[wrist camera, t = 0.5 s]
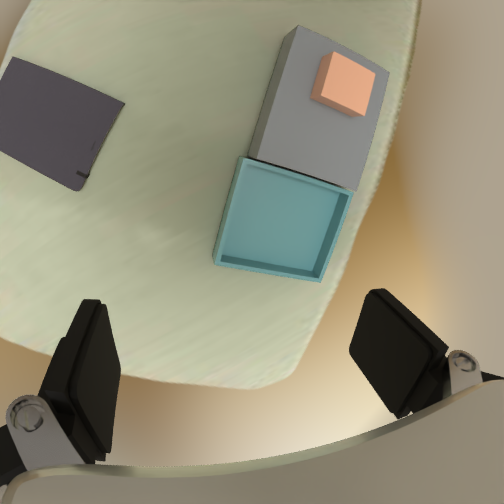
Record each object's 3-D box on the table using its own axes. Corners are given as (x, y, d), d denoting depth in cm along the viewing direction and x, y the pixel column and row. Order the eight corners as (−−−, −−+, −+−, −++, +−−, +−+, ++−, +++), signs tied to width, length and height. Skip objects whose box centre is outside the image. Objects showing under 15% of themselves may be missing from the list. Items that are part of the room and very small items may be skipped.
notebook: (126, 104, 30) (17, 58, 22) (123, 103, 29) (12, 56, 21) (83, 191, 33) (-18, 137, 25) (79, 193, 32) (-23, 137, 24)
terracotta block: (322, 56, 28) (333, 51, 25) (362, 76, 30) (375, 73, 27) (309, 98, 30) (320, 95, 27) (351, 116, 32) (364, 116, 29)
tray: (239, 156, 36) (243, 157, 33) (343, 188, 41) (353, 192, 38) (212, 255, 40) (214, 264, 37) (312, 273, 45) (320, 282, 42)
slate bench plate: (284, 36, 30) (298, 25, 26) (369, 76, 35) (389, 72, 30) (247, 156, 36) (256, 158, 32) (338, 184, 40) (356, 191, 36)
